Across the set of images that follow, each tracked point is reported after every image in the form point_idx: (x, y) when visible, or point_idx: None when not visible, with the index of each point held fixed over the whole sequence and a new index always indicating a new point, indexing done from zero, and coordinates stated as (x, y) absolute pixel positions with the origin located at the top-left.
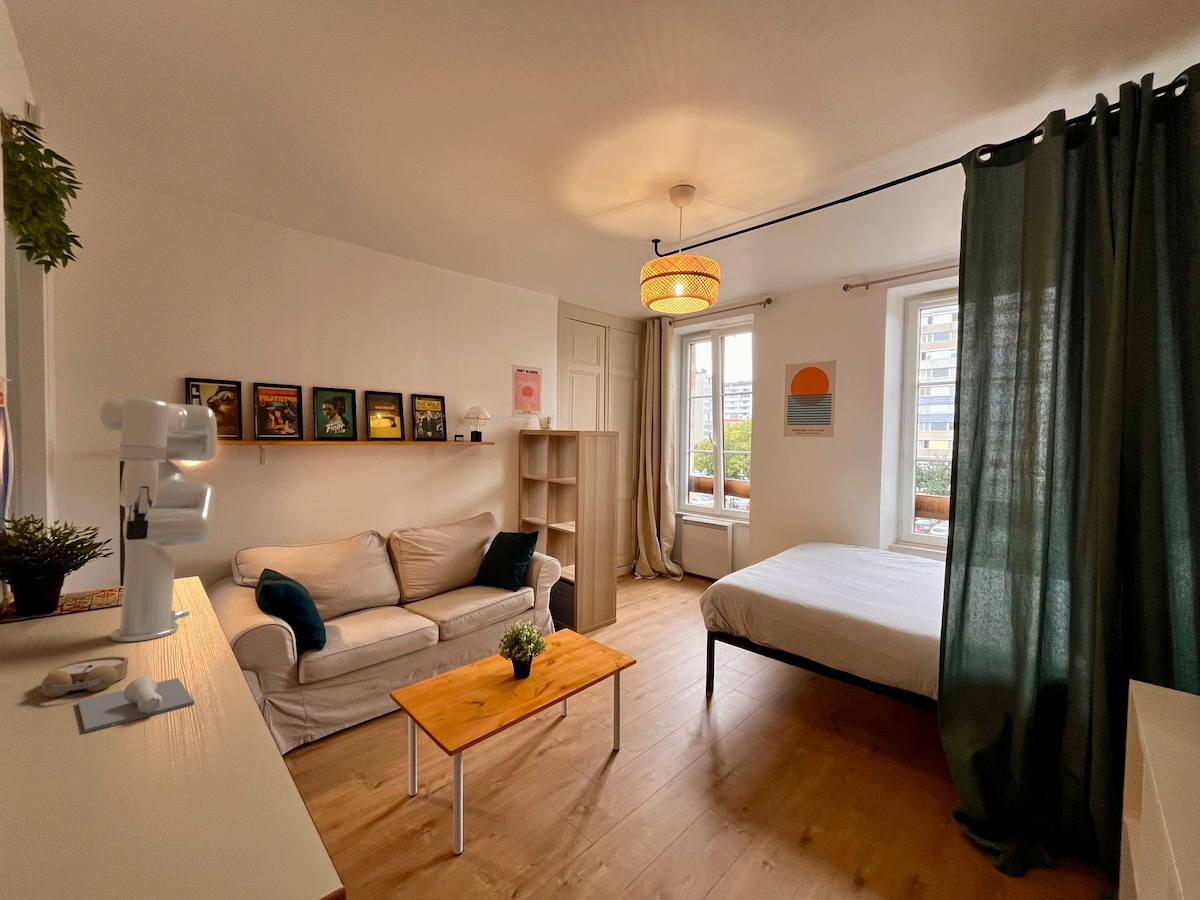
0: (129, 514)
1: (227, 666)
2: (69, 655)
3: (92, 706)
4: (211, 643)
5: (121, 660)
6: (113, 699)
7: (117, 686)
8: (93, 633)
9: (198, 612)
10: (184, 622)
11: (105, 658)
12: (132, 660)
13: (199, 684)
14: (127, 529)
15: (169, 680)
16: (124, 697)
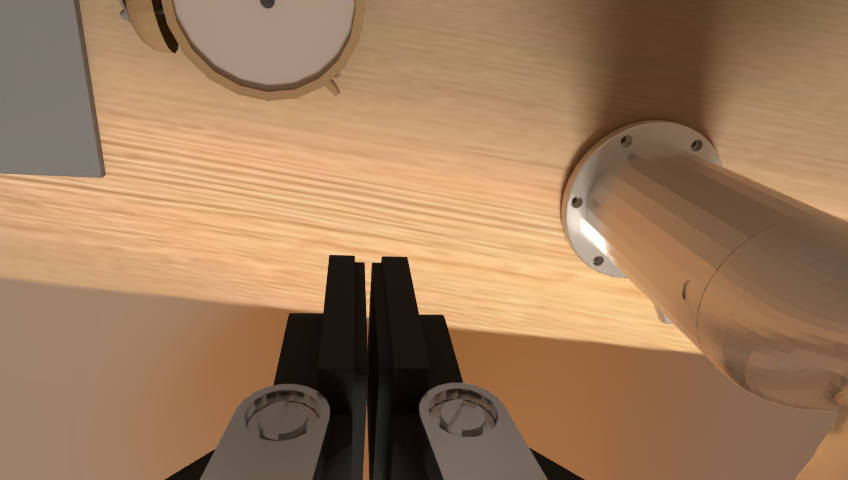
0: (434, 455)
1: (151, 289)
2: (588, 3)
3: None
4: None
5: (289, 85)
6: (11, 15)
7: None
8: (772, 95)
9: None
10: None
11: (341, 53)
12: (392, 126)
13: (38, 208)
14: (340, 304)
15: (91, 157)
16: (11, 41)
